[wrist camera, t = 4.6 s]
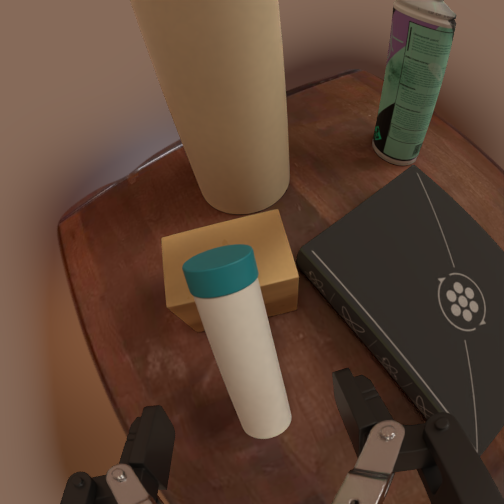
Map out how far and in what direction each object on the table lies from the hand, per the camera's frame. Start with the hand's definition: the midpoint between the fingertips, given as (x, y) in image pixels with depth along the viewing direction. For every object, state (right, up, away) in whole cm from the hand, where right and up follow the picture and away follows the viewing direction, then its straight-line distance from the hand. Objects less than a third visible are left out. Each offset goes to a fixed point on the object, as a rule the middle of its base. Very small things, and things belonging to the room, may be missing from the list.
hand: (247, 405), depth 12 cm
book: (+16, +2, +9) cm, 18 cm away
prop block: (-1, +4, +12) cm, 12 cm away
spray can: (+16, +18, +18) cm, 30 cm away
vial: (0, +1, +4) cm, 4 cm away
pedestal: (-1, +14, +17) cm, 23 cm away
